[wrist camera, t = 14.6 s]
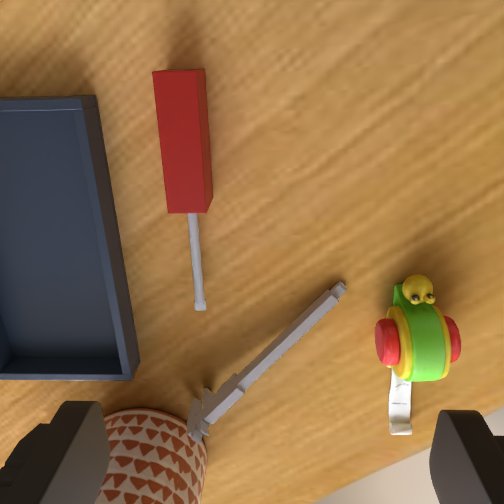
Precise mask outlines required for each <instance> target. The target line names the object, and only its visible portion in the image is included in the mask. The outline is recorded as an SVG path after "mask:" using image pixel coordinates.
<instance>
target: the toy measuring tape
mask: <svg viewBox="0 0 504 504" xmlns="http://www.w3.org/2000/svg"><path fill="white" fill-rule="evenodd" d="M432 293H433V285H432V283H431V281H430V280H429V279H428V278H427V277H425V276H423V275H418V274H416V275H412V276H410V277H408V278H407V279H406V280H405V281H404V283H403V284H398V285H395V287H394V298H393V306H391V307H390V308H389V310H388V313H387V318H385V319H380V320H379V321H378V322H377V324H376V327H375V343H376V350H377V354H378V357H379V359H380V361H381V363H383V364H384V365H386V366H387V367H392V379H391V387H390V391H389V420H390V422H389V428H390V433H391V435H411V434H412V425H411V423H410V411H411V410H410V409H411V384H412V382H416V381H434V380H439V379H440V378H444V377H446V376H447V374H448V372H449V369H450V363H452V362H454V361H456V360H457V359H458V357H459V355H460V352H461V340H460V334H459V330H458V327H457V325H456V323H455V322H454V321H453V320H452V319H451V318H450V317H448V316H444V315H443V314H442V312H441V311H440V310H439V309H438V308H437V307H436V306H434V305H432V303H434V302H435V296H434V295H432Z"/></svg>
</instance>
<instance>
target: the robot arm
mask: <svg viewBox="0 0 504 504" xmlns="http://www.w3.org/2000/svg"><path fill="white" fill-rule="evenodd" d="M109 461H110V444H109V440H108V435H107V431H106V426H105V421H104V417H103V412H102V408H101V405H100V403H99V402H98V401H65V402H64V403H63V404H62V405H61V406H60V408H59V409H58V411H57V413H56V414H55V416H54V417H53V419H52V421H51V422H50V424H42V423H40V424H39V425H38V426H36V427H35V428H34V429H33V430H32V431H31V432H29V433H28V434H27V435H26V436H25V437H24V438H23V439H21V440H20V441H19V442H18V444H17V445H16V447H15V448H14V450H13V451H12V453H11V454H10V456H9V457H8V459H7V460H6V462H5V466H4V467H2V468H1V469H0V504H94V503H95V501H96V498H97V496H98V494H99V491H100V489H101V486H102V484H103V481H104V479H105V476H106V473H107V470H108V466H109ZM429 465H430V474H431V479H432V483H433V486H434V489H435V492H436V494H437V497H438V500H439V503H440V504H504V436H493V434H492V432H491V431H490V429H489V428H488V425H487V424H486V422H485V420H484V418H483V417H482V415H481V414H480V413H479V412H478V411H476V410H441V411H440V413H439V415H438V420H437V424H436V429H435V434H434V438H433V443H432V448H431V452H430V459H429Z"/></svg>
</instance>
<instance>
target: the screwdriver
mask: <svg viewBox="0 0 504 504" xmlns="http://www.w3.org/2000/svg"><path fill="white" fill-rule="evenodd" d="M152 75H153V84H154V93H155V102H156V111H157V120H158V129H159V138H160V147H161V156H162V164H163V173H164V182H165V191H166V200H167V209H168V213H187V214H188V225H189V236H190V247H191V258H192V269H193V280H194V291H195V300H194V305H195V311H206V300H204V288H203V276H202V264H201V252H200V239H199V227H198V215H197V213H207V211H208V208H209V206H210V204H211V201H212V199H213V186H212V171H211V155H210V140H209V124H208V109H207V93H206V78H205V69H186V70H161V71H153V72H152Z"/></svg>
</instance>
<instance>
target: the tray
mask: <svg viewBox="0 0 504 504" xmlns="http://www.w3.org/2000/svg"><path fill="white" fill-rule="evenodd" d="M139 363H140V357H139V351H138V345H137V339H136V333H135V327H134V321H133V315H132V308H131V302H130V296H129V290H128V284H127V278H126V272H125V266H124V260H123V254H122V248H121V242H120V236H119V230H118V224H117V218H116V212H115V206H114V200H113V194H112V188H111V182H110V176H109V170H108V164H107V158H106V152H105V146H104V140H103V134H102V128H101V122H100V116H99V110H98V104H97V98H96V95H70V96H30V97H0V380H95V381H132V379H133V377H134V375H135V372H136V370H137V368H138V365H139Z"/></svg>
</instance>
